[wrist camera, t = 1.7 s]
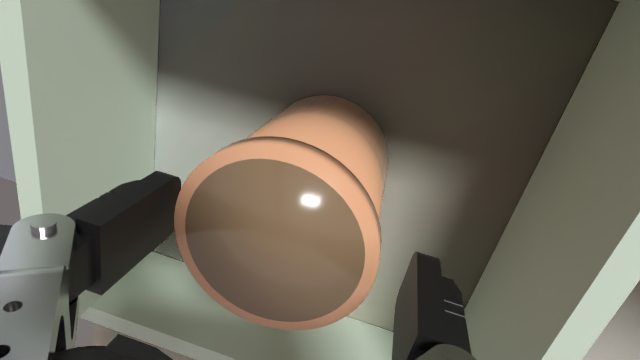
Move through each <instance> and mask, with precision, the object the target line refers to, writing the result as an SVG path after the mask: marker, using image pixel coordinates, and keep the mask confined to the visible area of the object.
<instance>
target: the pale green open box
mask: <svg viewBox="0 0 640 360" xmlns="http://www.w3.org/2000/svg"><path fill="white" fill-rule="evenodd" d="M615 1H619V4H618V6H617V8H616V10H615V12H614V14H613V16H612V18H611V20H610V22H609V24H608V26H607V28H606V30H605V32H604V34H603V35H602V37H601V39H600V41H599V43H598V45H597V47H596V49H595V51H594V53H593V55H592V57H591V59H590V61H589V63H588V65H587V67H586V69H585V71H584V73H583V75H582V77H581V79H580V81H579V83H578V85H577V87H576V89H575V91H574V93H573V95H572V97H571V99H570V101H569V103H568V105H567V107H566V109H565V111H564V113H563V115H562V117H561V119H560V121H559V123H558V125H557V127H556V129H555V131H554V133H553V135H552V137H551V139H550V141H549V143H548V145H547V147H546V149H545V151H544V153H543V155H542V157H541V159H540V161H539V163H538V165H537V167H536V169H535V171H534V173H533V175H532V177H531V179H530V181H529V182H528V184H527V186H526V188H525V190H524V192H523V194H522V196H521V198H520V200H519V202H518V204H517V206H516V208H515V210H514V212H513V214H512V216H511V218H510V220H509V222H508V224H507V226H506V228H505V230H504V232H503V234H502V236H501V238H500V240H499V242H498V244H497V246H496V248H495V250H494V252H493V254H492V256H491V258H490V260H489V262H488V264H487V266H486V268H485V270H484V272H483V274H482V276H481V278H480V280H479V282H478V284H477V286H476V288H475V290H474V292H473V294H472V296H471V298H470V300H469V302H468V304H467V306H466V308H465V310H464V313H465V318H466V324H467V330H468V336H469V342H470V348H471V354H472V356H474V357H475V358H476V359H477V360H582V358H583V357H584V356H585V354H586V353H587V352H588V350H589V349H590V347H591V346H592V345H593V343H594V342H595V341H596V339H597V338H598V337H599V335H600V334H601V332H602V331H603V330H604V328H605V327H606V326H607V324H608V323H609V321H610V320H611V319H612V317H613V316H614V315H615V313H616V312H617V311H618V309H619V308H620V306H621V305H622V304H623V302H624V301H625V300H626V298H627V297H628V295H629V294H630V293H631V291H632V290H633V289H634V287H635V286H636V285H637V283H638V282H639V280H640V0H615ZM159 11H160V0H0V65H1V73H2V80H3V88H4V95H5V102H6V110H7V117H8V125H9V132H10V139H11V147H12V154H13V162H14V169H15V176H16V183H17V190H18V198H19V205H20V213H21V219H24V218H26V217H29V216H32V215H37V214H45V213H55V214H62V215H65V216H66V215H67V214H69V213H71V212H73V211H74V210H76V209H78V208H80V207H82V206H83V205H85V204H87V203H89V202H90V201H92V200H94V199H96V198H99V197H100V196H101V195H103V194H105V193H106V192H109V191H110V190H112V189H114V188H115V187H117V186H119V185H121V184H123V183H127V182H131V181H135V180H141V179H143V178H145V177H146V176H148V175H150V174H151V173H153V172H154V151H155V123H156V95H157V67H158V39H159ZM78 317H79V318H81V319H84V320H87V321H90V322H92V323H95V324H98V325H101V326H103V327H106V328H109V329H112V330H114V331H117V332H120V333H123V334H125V335H128V336H131V337H134V338H137V339H139V340H142V341H145V342H148V343H150V344H153V345H156V346H159V347H161V348H164V349H167V350H170V351H172V352H175V353H178V354H181V355H184V356H186V357H189V358H192V359H195V360H392V347H393V332H392V331H389V330H386V329H383V328H380V327H377V326H374V325H371V324H368V323H365V322H362V321H359V320H356V319H353V318H350V317H347V316H346V317H344V318H342V319H341V320H339V321H337V322H335V323H332V324H330V325H327V326H324V327H320V328H316V329H310V330H295V331H291V330H280V329H274V328H269V327H265V326H262V325H258V324H255V323H253V322H250V321H248V320H245V319H243V318H241V317H239V316H237V315H236V314H234V313H232V312H230V311H229V310H227V309H226V308H224V307H223V306H221V305H220V304H219V303H218V302H216V301H215V300H214V299H213V298H212V297H211V296H210V295H208V294H207V293H206V292H205V291H204V290H203V288H202V287H201V286H200V285H199V284H198V283H197V281H196V280H195V279H194V277H193V276H192V274H191V273H190V271H189V270H188V268H187V266H186V264H185V262H182V261H179V260H176V259H173V258H170V257H167V256H164V255H161V254H158V253H155V252H150V253H149V254H148V255H147V256H146V257H145V258H144V259H143V260H141V261H140V262H139V263H138V264H137V265H136V266H135V267H134V268H132V269H131V270H130V271H129V272H128V273H127V274H126V275H124V276H123V277H122V278H121V279H120V280H119V281H118V282H117V283H115V284H114V285H113V286H112V287H111V288H110V289H109V290H108V291H106V292H105V293H104V294H103V295H102V296H101V295H99V294H96V293H93V292H90V291H87V290H85V291H84V292H82V293H81V294H80V295H79V311H78Z"/></svg>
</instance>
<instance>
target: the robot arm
mask: <svg viewBox="0 0 640 360" xmlns="http://www.w3.org/2000/svg"><path fill="white" fill-rule="evenodd" d="M180 190H181V180H180V178H179V177H176V176H173V175H170V174H166V173H163V172H160V171H155V172H153V173H151V174H150V175H148V176H146V177H145V178H143V179H141V180H135V181H131V182H127V183H123V184H121V185H119V186H117V187H115V188H114V189H112V190H110V191H109V192H106V193H105V194H103V195H101V196H100V197H99V198H96V199H94V200H92V201H90V202H89V203H87V204H85V205H83V206H82V207H80V208H78V209H76V210H74V211H73V212H71V213H69V214H67V215H66V216H65V215H62V214H55V213H45V214H37V215H32V216H29V217H26V218H24V219H21V220H20V221H18V222H17V223H15V224H14V225H13V226H9V225H0V360H172V359H171V358H170V357H168V356H167V355H165V354H164V353H163V352H161V351H160V350H159V349H157V348H155V347H152V346H150V345H147V344H144V343H141V342H139V341H136V340H133V339H130V338H128V337H125V336H122V335H120V334H118V335H117V336H116V337H115V338H114V339H113V340H112V341H111V342H110V343H109V345H108V346H86V347H77V348H74V346H75V338H76V329H77V320H78V311H79V295H80V294H81V293H82V292H84V291H85V290H87V291H90V292H93V293H96V294H99V295H101V296H102V295H103V294H104V293H105V292H106V291H108V290H109V289H110V288H111V287H112V286H113V285H114V284H115V283H117V282H118V281H119V280H120V279H121V278H122V277H123V276H124V275H126V274H127V273H128V272H129V271H130V270H131V269H132V268H134V267H135V266H136V265H137V264H138V263H139V262H140V261H141V260H143V259H144V258H145V257H146V256H147V255H148V254H149V253H150V252H152V251H153V250H154V249H155V248H156V247H157V246H158V245H160V244H161V243H162V242H163V241H164V240H165V239H166V238H167V237H169V236H170V235H171V234H172V232H173V231H174V213H175V206H176V202H177V198H178V195H179V192H180ZM392 360H477V359H476V358H475V357H474V356H472V354H471V348H470V342H469V336H468V330H467V324H466V318H465V313H464V308H463V301H462V295H461V292H460V290H459V289H458V287H457V286H456V284H455V283H454V281H453V280H452V279H449V278H446V277H442V276H441V267H440V260H439V259H438V258H435V257H432V256H429V255H426V254H422V253H419V252H415V253H414V255H413V257H412V259H411V262H410V265H409V267H408V270H407V272H406V275H405V277H404V280H403V283H402V285H401V288H400V290H399V293H398V297H397V301H396V306H395V317H394V332H393V347H392Z"/></svg>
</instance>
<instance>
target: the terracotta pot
mask: <svg viewBox="0 0 640 360" xmlns="http://www.w3.org/2000/svg"><path fill="white" fill-rule="evenodd" d="M388 161H389V157H388V148H387V143H386V140H385V137H384V135H383V133H382V131H381V129H380V127H379V126H378V124H377V123H376V121H375V120H374V119H373V118H372V117H371V115H370V114H368V113H367V112H366V111H365V110H364V109H362V108H361V107H359V106H358V105H357V104H355V103H353V102H351V101H348V100H346V99H343V98H339V97H334V96H325V95H322V96H313V97H308V98H305V99H302V100H299V101H297V102H295V103H293V104H292V105H290V106H289V107H288V108H286V109H285V110H283V111H282V112H281V113H279V114H278V115H277V116H275V117H274V118H273V119H271V120H270V121H269V122H267V123H266V124H265V125H263V126H262V127H261V128H259V129H258V130H257V131H255V132H254V133H253V134H251V135H250V136H249V137H247V138H246V139H243V140H240V141H237V142H234V143H232V144H230V145H228V146H226V147H224V148H222V149H221V150H219V151H218V152H216V153H215V154H213V155H212V156H211V157H209V158H208V159H206V160H205V161H204V162H202V163H201V164H200V165H198V167H197V168H196V169H195V170H194V171H193V172H192V173H191V174H190V175H189V177H188V178H187V179H186V181H185V182H184V184H183V186H182V188H181V190H180V192H179V195H178V198H177V202H176V206H175V213H174V229H175V236H176V241H177V244H178V248H179V251H180V253H181V256H182V258H183V261H184V262H185V264H186V266H187V268H188V270H189V271H190V273H191V274H192V276H193V277H194V279H195V280H196V281H197V283H198V284H199V285H200V286H201V287H202V288H203V290H204V291H205V292H206V293H207V294H208V295H210V296H211V297H212V298H213V299H214V300H215V301H216V302H218V303H219V304H220V305H221V306H223V307H224V308H226V309H227V310H229V311H230V312H232V313H234V314H236V315H237V316H239V317H241V318H243V319H245V320H248V321H250V322H253V323H255V324H258V325H262V326H265V327H269V328H274V329H280V330H291V331H295V330H310V329H316V328H320V327H324V326H327V325H330V324H332V323H335V322H337V321H339V320H341V319H342V318H344V317H346V316H348V315H349V314H350V313H351V312H353V311H354V310H355V309H356V308H357V307H358V306H359V305H360V304H361V303H362V302H363V301H364V299H365V298H366V296H367V295H368V293H369V292H370V290H371V288H372V286H373V284H374V281H375V279H376V275H377V271H378V266H379V259H380V251H381V227H380V223H379V218H380V212H381V206H382V200H383V194H384V188H385V182H386V176H387V170H388Z"/></svg>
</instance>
